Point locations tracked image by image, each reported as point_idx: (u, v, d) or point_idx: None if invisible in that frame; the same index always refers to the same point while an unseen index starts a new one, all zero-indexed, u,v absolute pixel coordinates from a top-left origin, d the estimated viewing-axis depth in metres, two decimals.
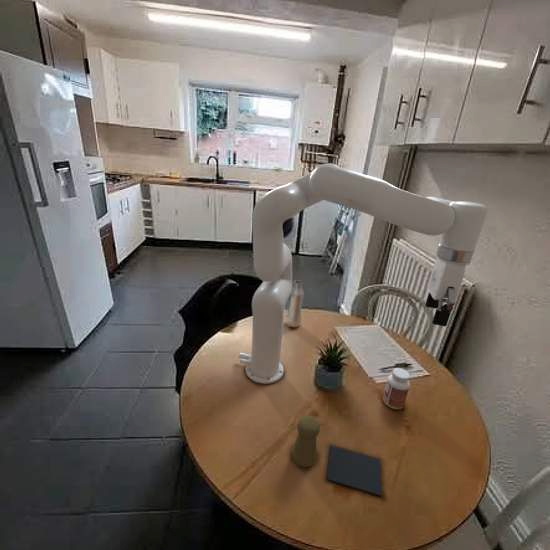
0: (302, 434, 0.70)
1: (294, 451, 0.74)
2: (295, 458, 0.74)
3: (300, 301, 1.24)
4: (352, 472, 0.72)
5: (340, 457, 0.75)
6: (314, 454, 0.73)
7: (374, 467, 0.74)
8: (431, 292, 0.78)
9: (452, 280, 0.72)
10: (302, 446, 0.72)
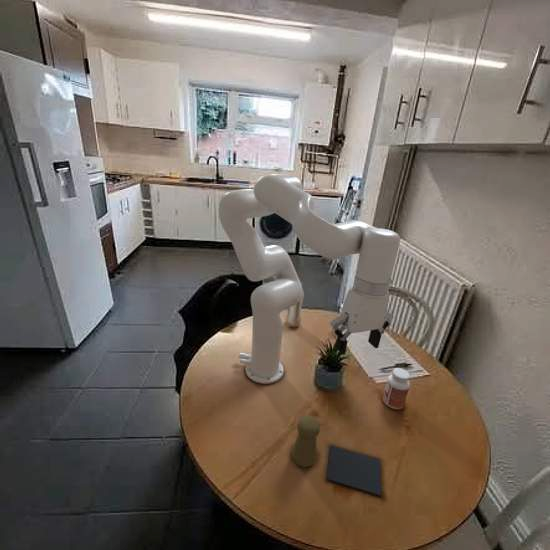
0: (302, 434, 0.70)
1: (294, 451, 0.74)
2: (295, 458, 0.74)
3: (300, 301, 1.24)
4: (352, 472, 0.72)
5: (340, 457, 0.75)
6: (314, 454, 0.73)
7: (374, 467, 0.74)
8: None
9: (348, 306, 0.69)
10: (302, 446, 0.72)
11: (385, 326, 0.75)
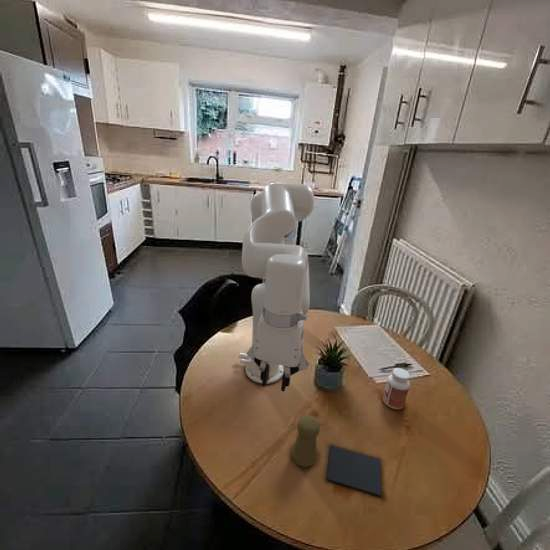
0: (302, 434, 0.70)
1: (294, 451, 0.74)
2: (295, 458, 0.74)
3: None
4: (352, 472, 0.72)
5: (340, 457, 0.75)
6: (314, 454, 0.73)
7: (374, 467, 0.74)
8: None
9: None
10: (302, 446, 0.72)
11: (293, 371, 0.67)
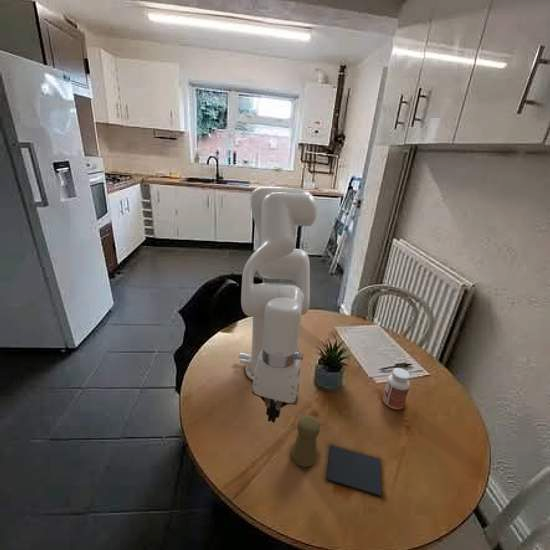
0: (302, 434, 0.70)
1: (294, 451, 0.74)
2: (295, 458, 0.74)
3: None
4: (352, 472, 0.72)
5: (340, 457, 0.75)
6: (314, 454, 0.73)
7: (374, 467, 0.74)
8: None
9: None
10: (302, 446, 0.72)
11: (282, 404, 0.70)
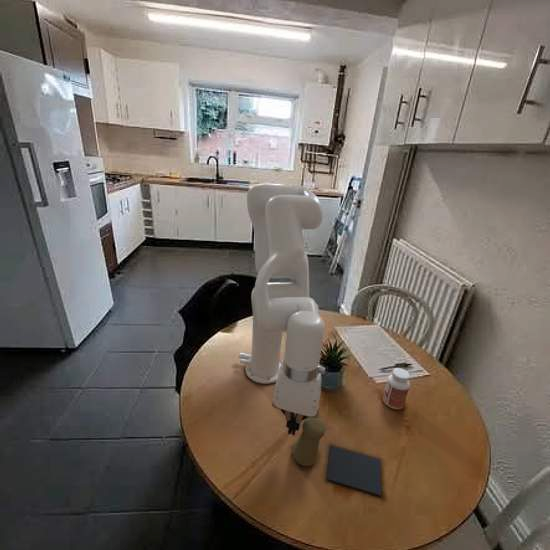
0: (307, 435, 0.70)
1: (295, 450, 0.74)
2: (295, 456, 0.73)
3: None
4: (352, 472, 0.72)
5: (340, 457, 0.75)
6: (315, 455, 0.73)
7: (374, 467, 0.74)
8: None
9: None
10: (305, 446, 0.71)
11: (303, 417, 0.70)
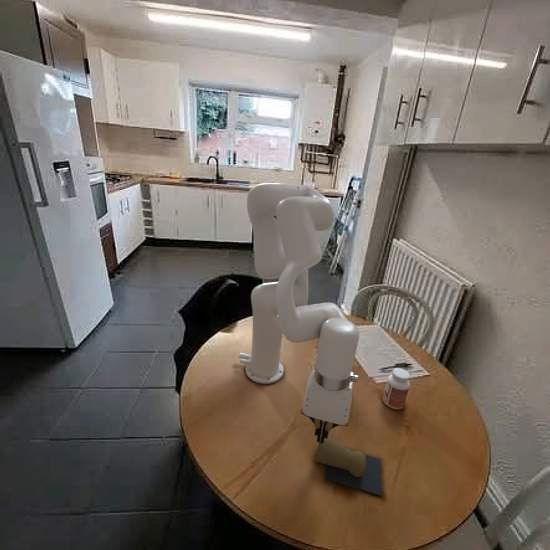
0: (356, 467, 0.69)
1: (326, 445, 0.72)
2: (321, 448, 0.72)
3: None
4: None
5: None
6: None
7: (374, 467, 0.74)
8: None
9: (306, 387, 0.68)
10: (339, 460, 0.70)
11: (333, 425, 0.69)
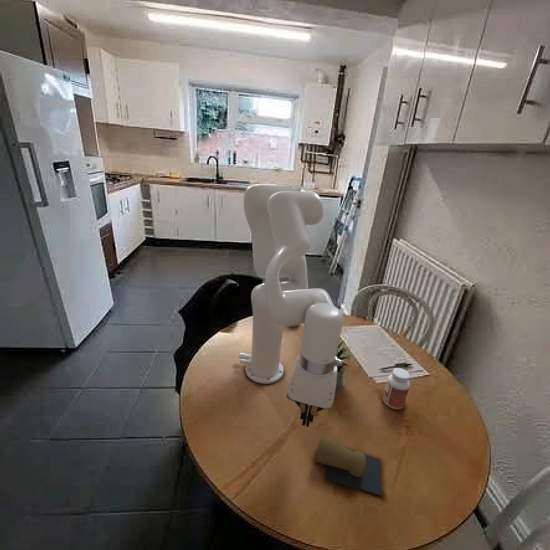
0: (356, 467, 0.69)
1: (326, 446, 0.72)
2: (321, 448, 0.72)
3: None
4: None
5: None
6: None
7: (374, 467, 0.74)
8: None
9: None
10: (339, 461, 0.70)
11: (318, 408, 0.70)
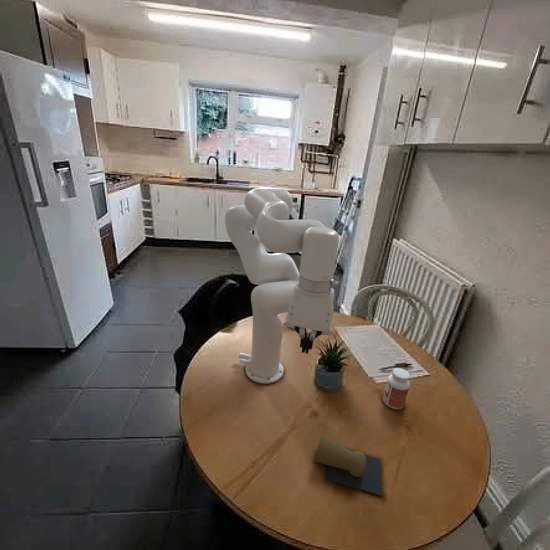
0: (356, 467, 0.69)
1: (326, 446, 0.72)
2: (321, 448, 0.72)
3: None
4: None
5: None
6: None
7: (374, 467, 0.74)
8: None
9: None
10: (339, 461, 0.70)
11: (316, 334, 0.73)
